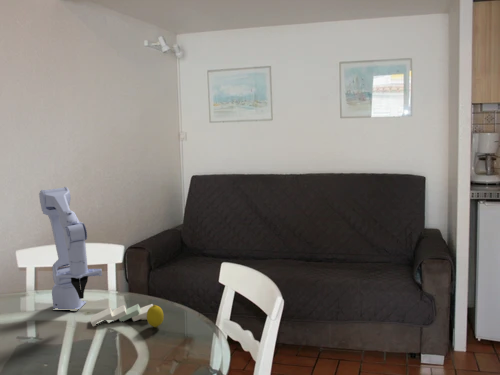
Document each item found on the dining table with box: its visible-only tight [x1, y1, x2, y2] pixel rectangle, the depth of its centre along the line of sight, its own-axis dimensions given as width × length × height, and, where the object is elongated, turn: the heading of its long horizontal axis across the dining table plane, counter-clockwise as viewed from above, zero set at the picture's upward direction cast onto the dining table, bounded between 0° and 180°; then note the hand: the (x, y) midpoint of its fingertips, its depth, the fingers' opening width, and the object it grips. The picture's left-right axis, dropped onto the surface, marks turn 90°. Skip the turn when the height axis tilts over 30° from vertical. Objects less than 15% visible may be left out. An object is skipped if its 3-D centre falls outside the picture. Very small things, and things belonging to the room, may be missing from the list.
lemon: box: [146, 304, 165, 328], centre depth 177 cm, size 6×6×8 cm
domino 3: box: [118, 303, 141, 322], centre depth 184 cm, size 2×5×7 cm
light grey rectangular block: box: [90, 307, 113, 327], centre depth 182 cm, size 2×5×7 cm
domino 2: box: [108, 304, 127, 321], centre depth 183 cm, size 2×5×7 cm
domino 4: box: [131, 303, 154, 322], centre depth 184 cm, size 2×5×7 cm
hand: (81, 297), depth 180 cm, fingers closed
